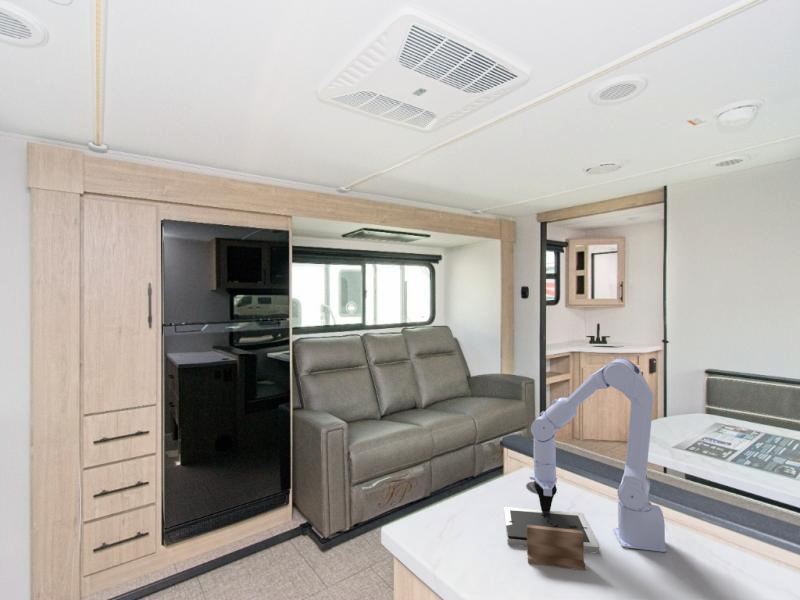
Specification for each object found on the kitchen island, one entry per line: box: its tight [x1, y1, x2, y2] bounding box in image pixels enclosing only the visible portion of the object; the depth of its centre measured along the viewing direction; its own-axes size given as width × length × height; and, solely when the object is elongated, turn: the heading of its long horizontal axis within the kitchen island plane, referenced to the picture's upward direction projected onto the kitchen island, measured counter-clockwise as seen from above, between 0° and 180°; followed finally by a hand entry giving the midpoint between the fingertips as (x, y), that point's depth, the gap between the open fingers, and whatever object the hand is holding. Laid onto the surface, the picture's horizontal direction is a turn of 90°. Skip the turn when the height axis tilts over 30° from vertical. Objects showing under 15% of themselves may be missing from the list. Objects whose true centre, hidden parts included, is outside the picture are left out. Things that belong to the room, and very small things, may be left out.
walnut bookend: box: [526, 525, 587, 571], centre depth 92 cm, size 12×3×7 cm, turn 76°
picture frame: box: [503, 506, 600, 554], centre depth 105 cm, size 16×3×21 cm
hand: (545, 510), depth 112 cm, fingers closed
